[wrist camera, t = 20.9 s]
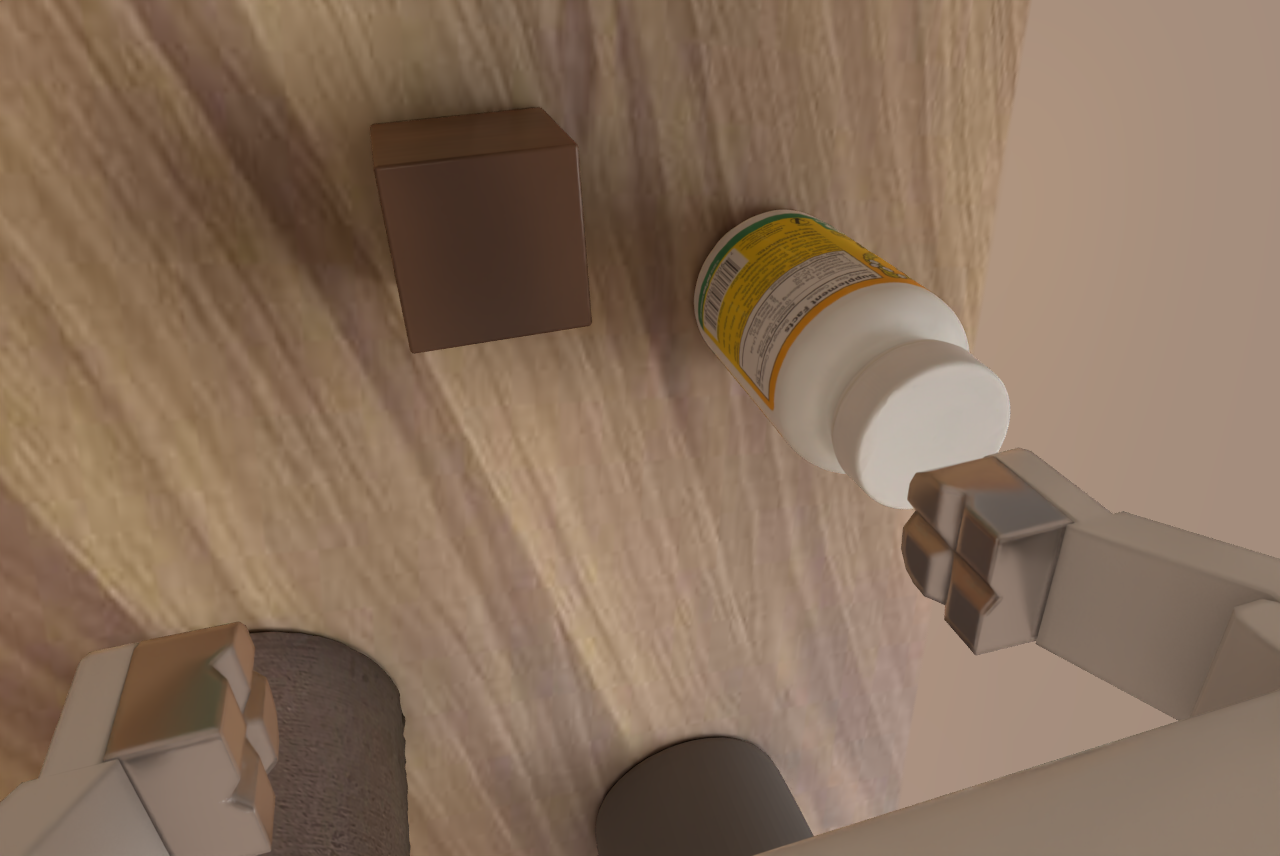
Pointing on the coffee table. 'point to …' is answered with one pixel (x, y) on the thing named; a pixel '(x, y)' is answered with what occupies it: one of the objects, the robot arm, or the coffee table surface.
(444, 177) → the block
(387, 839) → the pillar candle
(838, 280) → the supplement bottle
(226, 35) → the coffee table surface
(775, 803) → the mug
